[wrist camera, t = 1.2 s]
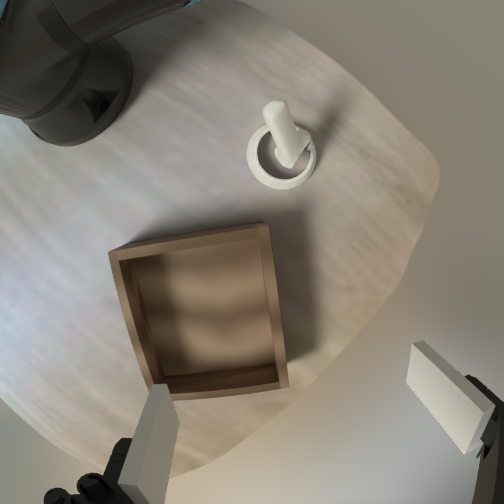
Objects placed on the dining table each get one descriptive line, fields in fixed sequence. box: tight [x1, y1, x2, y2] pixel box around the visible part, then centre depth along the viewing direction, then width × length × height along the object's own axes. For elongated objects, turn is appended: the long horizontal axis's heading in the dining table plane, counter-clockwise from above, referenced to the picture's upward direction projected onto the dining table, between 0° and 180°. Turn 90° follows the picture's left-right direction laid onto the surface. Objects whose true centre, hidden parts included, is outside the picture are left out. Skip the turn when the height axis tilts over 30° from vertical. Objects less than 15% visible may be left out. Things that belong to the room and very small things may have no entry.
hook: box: [247, 100, 316, 189], centre depth 28 cm, size 8×12×7 cm
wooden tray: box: [108, 222, 289, 401], centre depth 32 cm, size 18×16×5 cm
